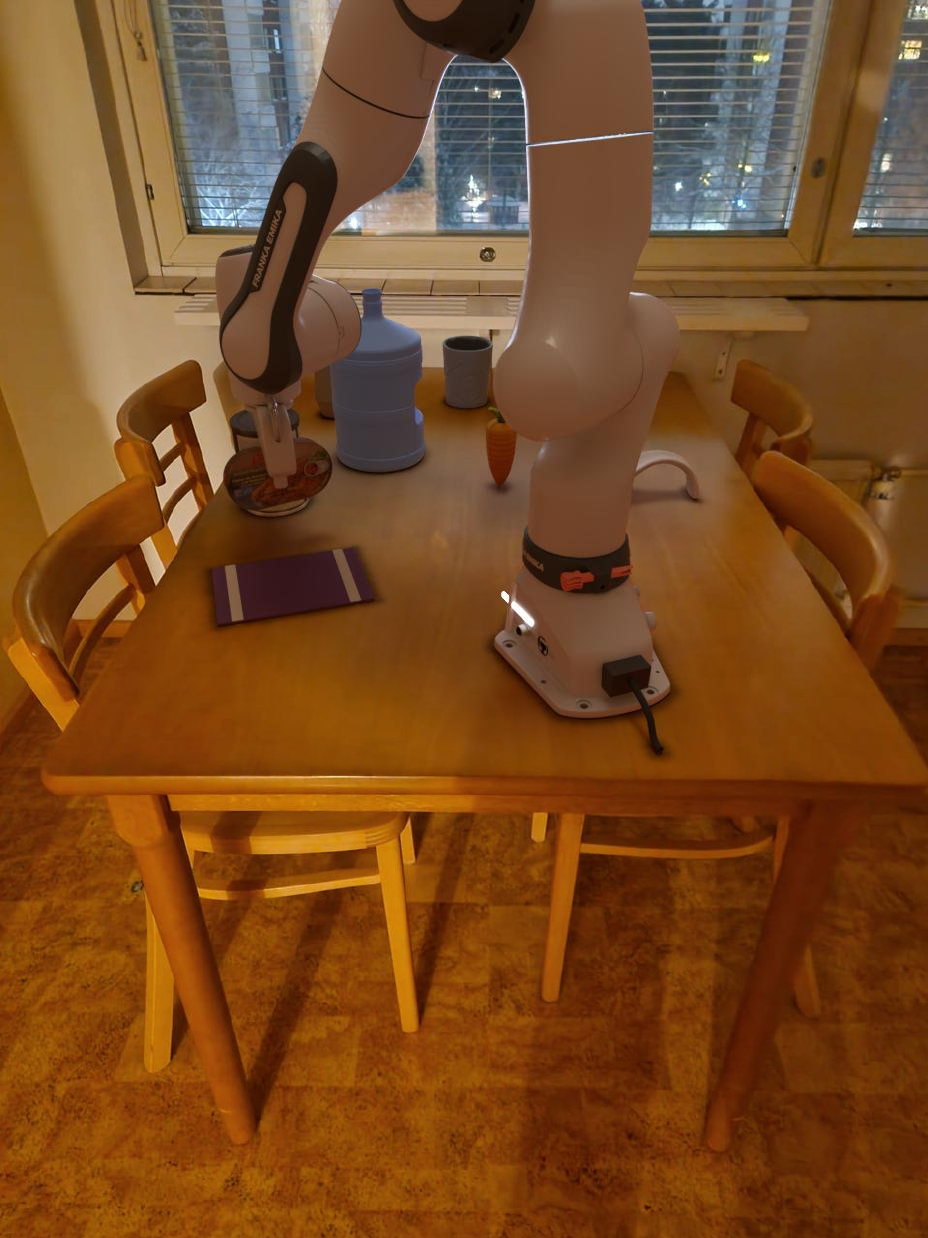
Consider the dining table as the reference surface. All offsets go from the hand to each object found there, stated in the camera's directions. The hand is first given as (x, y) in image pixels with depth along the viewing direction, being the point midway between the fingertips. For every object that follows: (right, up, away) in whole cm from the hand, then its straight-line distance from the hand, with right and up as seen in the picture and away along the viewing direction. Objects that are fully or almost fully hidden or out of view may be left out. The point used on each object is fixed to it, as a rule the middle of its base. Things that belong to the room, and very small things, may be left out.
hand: (279, 479), depth 112 cm
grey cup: (+26, +26, +55) cm, 66 cm away
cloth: (+2, -15, -3) cm, 15 cm away
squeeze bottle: (0, +22, +49) cm, 54 cm away
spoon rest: (+51, +1, +20) cm, 55 cm away
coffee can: (-4, -1, +17) cm, 18 cm away
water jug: (+11, +10, +32) cm, 36 cm away
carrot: (+32, +2, +22) cm, 39 cm away
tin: (0, -3, +2) cm, 3 cm away
